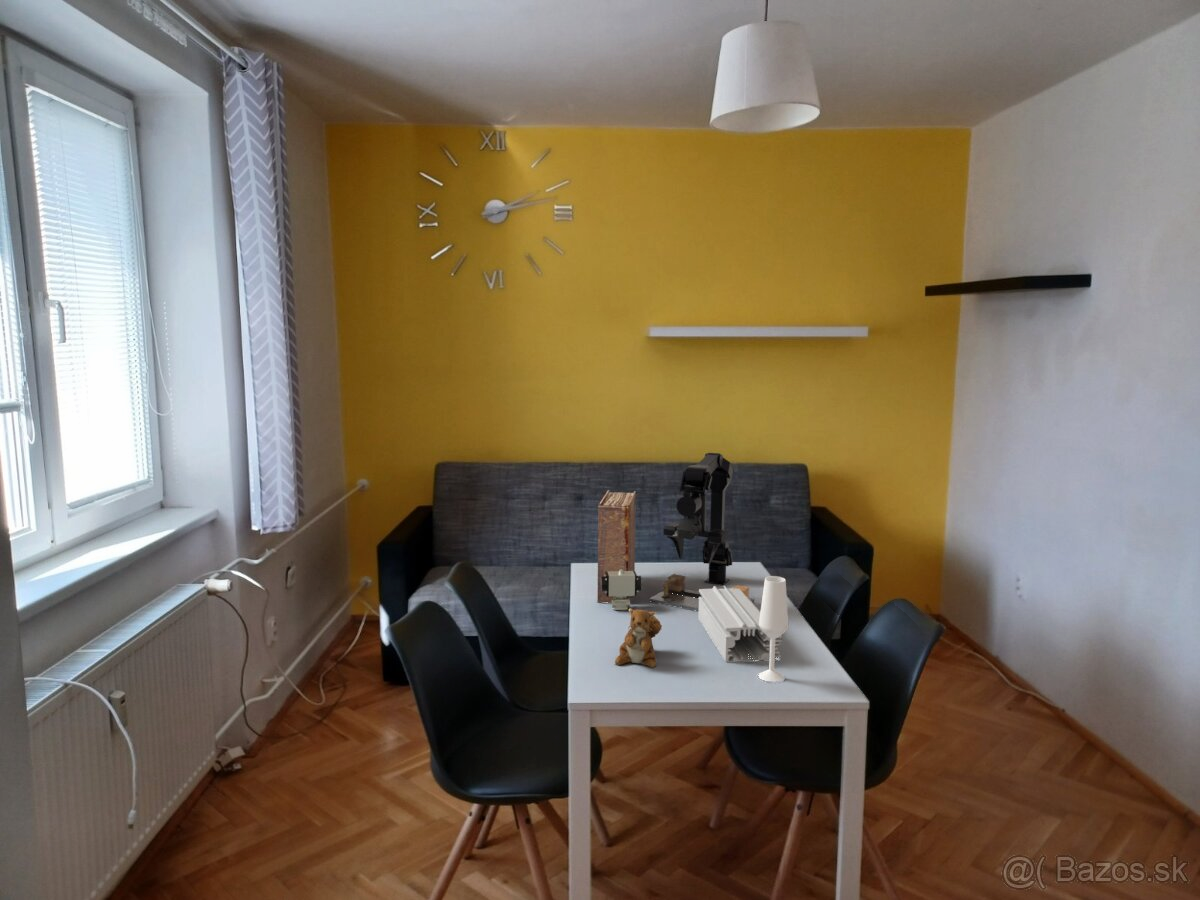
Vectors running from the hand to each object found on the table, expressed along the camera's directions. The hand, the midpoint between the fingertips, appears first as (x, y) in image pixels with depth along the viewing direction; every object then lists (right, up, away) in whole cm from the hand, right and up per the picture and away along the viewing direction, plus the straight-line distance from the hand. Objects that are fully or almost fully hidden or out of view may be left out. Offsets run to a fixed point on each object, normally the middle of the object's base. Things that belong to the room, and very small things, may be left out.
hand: (694, 560), depth 235 cm
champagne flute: (+12, -21, -47) cm, 53 cm away
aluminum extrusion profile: (+9, -18, -23) cm, 30 cm away
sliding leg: (+12, -13, 0) cm, 18 cm away
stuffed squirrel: (-18, -19, -36) cm, 45 cm away
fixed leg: (-6, -11, +11) cm, 17 cm away
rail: (+5, -13, +8) cm, 16 cm away
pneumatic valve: (-22, -14, 0) cm, 26 cm away
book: (-23, -12, +16) cm, 30 cm away
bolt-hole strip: (-1, -14, +3) cm, 14 cm away
